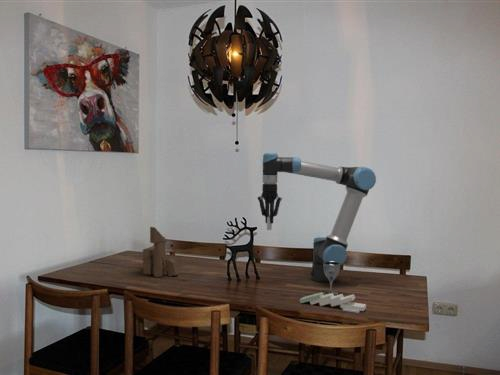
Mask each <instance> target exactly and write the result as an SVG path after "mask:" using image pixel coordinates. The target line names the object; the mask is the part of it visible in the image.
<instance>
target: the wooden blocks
mask: <svg viewBox="0 0 500 375" xmlns="http://www.w3.org/2000/svg"><path fill="white" fill-rule="evenodd" d="M149 232H150V233H149V238H150V239H149V241H150V242H149V243H150V244H153V245H152V246H150V247H146V248H144V249H142V261H143V262H142V267H143V268H142V271H143V272H142V273H143V274H142V275H153V276H154V277H155V278H160V277H163V276H168V277H175V276H176V275H180V270H179V266H178V265H179V264H178V261H177V260H176V259H174V258H172V257H171V258H167V254H166V253H167V252H166V243H167V242H168V240H167V239H166V237H165V236H163V235H162V234H161V232H160V231H159V230H158V229H157V227H154V226H150V227H149Z"/></svg>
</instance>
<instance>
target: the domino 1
mask: <svg viewBox="0 0 500 375" xmlns="http://www.w3.org/2000/svg"><path fill="white" fill-rule="evenodd" d="M324 295H325V294H324V292H323V291H320V292H317V293H313V294H310V295H306V296H303V297H301V298H300V299H299V303H300V304H304V303H308V302H310V301H312V300H316V299H320V298H321V297H323V296H324Z"/></svg>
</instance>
